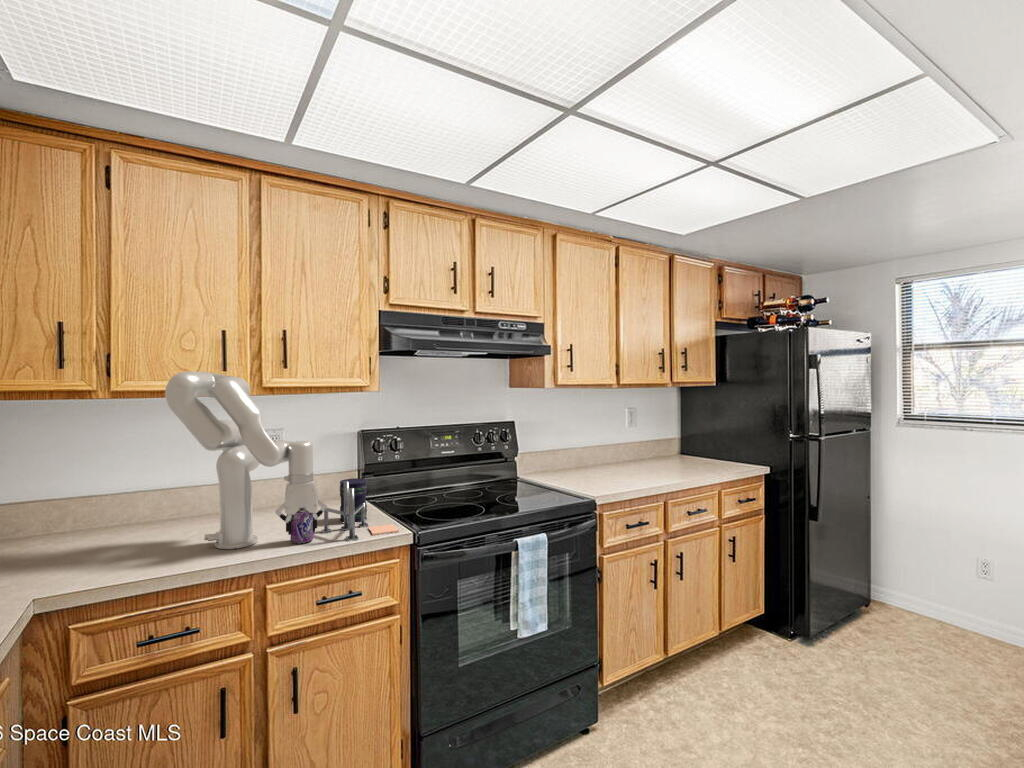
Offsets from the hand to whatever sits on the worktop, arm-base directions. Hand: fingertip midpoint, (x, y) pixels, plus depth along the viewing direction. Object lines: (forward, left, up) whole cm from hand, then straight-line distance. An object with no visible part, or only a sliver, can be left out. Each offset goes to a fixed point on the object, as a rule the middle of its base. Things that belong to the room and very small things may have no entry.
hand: (301, 531), depth 176 cm
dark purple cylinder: (+19, +20, -4) cm, 28 cm away
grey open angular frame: (+15, +2, -3) cm, 16 cm away
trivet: (+27, +1, -3) cm, 27 cm away
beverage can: (0, 0, -3) cm, 3 cm away
